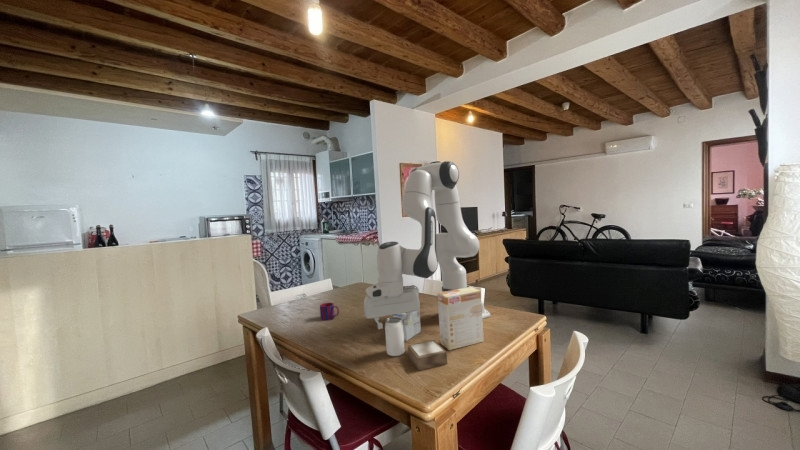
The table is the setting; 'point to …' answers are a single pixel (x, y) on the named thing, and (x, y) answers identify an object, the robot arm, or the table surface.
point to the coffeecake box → (460, 317)
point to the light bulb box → (410, 324)
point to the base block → (427, 355)
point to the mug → (327, 311)
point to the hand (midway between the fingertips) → (393, 326)
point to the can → (394, 336)
